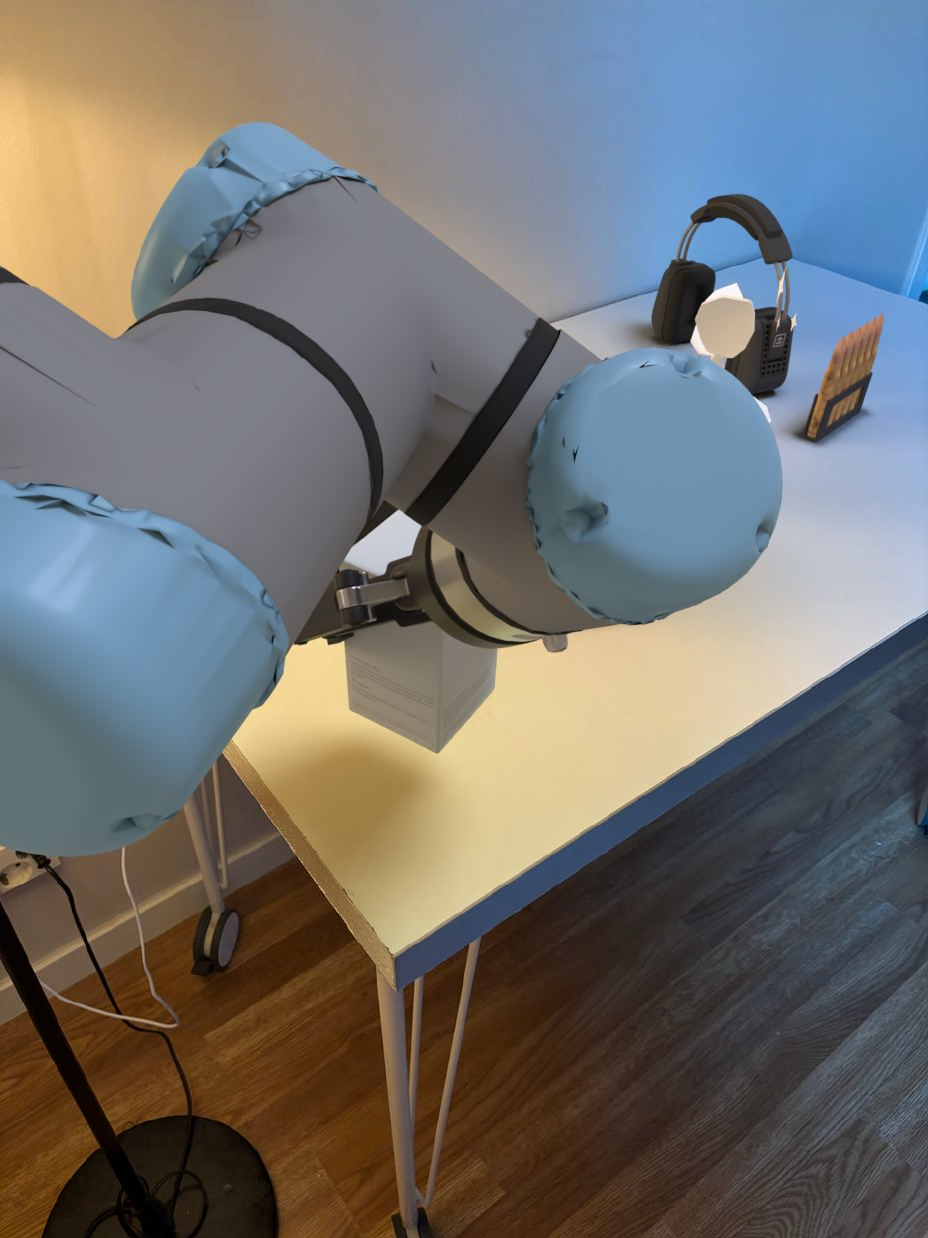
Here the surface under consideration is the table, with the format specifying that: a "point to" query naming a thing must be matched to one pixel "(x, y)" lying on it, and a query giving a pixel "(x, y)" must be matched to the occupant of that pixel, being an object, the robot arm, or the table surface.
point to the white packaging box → (411, 658)
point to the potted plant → (727, 326)
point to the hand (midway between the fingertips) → (409, 608)
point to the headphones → (695, 283)
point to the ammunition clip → (844, 381)
